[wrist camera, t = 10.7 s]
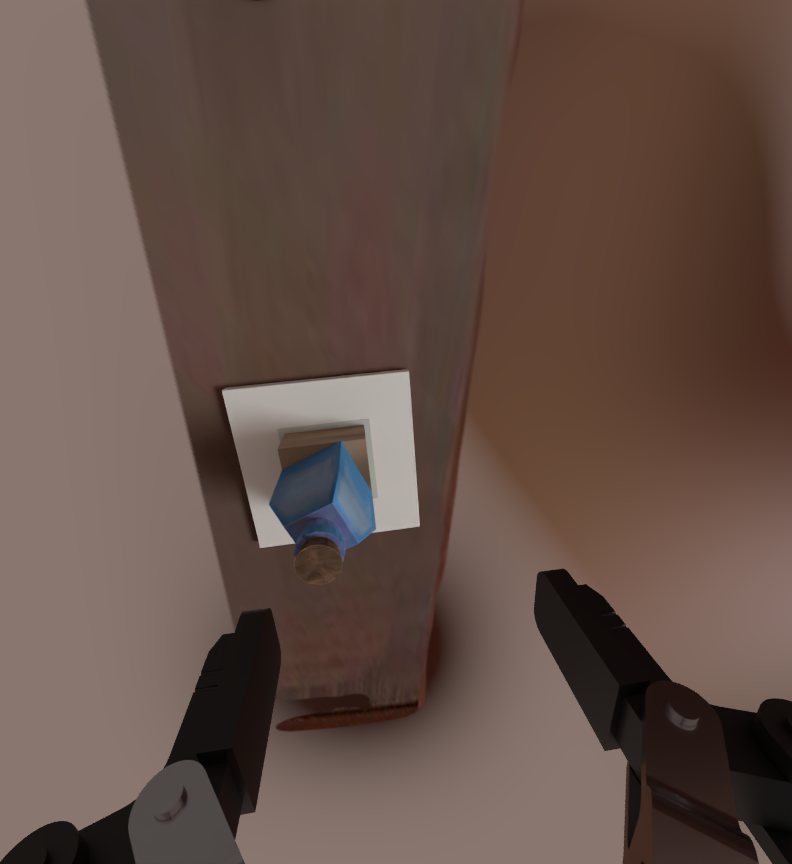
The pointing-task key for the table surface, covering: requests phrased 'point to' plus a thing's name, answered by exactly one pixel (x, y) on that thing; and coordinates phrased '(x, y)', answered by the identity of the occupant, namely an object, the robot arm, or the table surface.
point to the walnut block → (312, 442)
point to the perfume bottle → (323, 511)
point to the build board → (325, 409)
